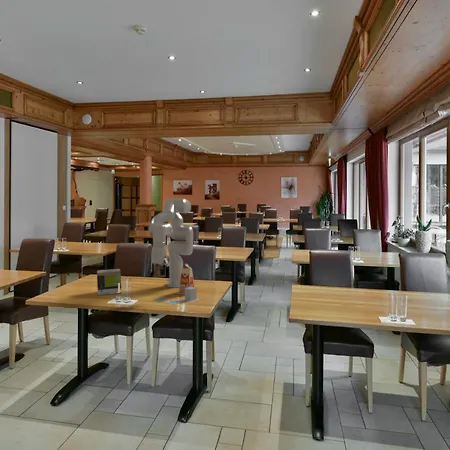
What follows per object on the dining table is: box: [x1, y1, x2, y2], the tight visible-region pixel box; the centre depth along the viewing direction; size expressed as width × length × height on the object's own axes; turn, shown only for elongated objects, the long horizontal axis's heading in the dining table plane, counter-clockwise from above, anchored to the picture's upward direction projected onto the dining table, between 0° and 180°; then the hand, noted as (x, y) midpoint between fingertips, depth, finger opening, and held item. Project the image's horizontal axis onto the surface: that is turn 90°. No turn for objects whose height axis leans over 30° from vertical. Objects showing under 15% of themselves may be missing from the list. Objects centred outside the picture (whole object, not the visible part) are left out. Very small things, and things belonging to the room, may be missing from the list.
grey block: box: [184, 286, 197, 301], centre depth 244 cm, size 5×5×7 cm
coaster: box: [152, 297, 168, 303], centre depth 243 cm, size 7×7×1 cm
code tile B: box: [180, 297, 201, 303], centre depth 245 cm, size 9×9×1 cm
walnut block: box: [153, 264, 167, 279], centre depth 242 cm, size 5×5×7 cm
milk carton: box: [177, 263, 196, 295], centre depth 261 cm, size 9×9×20 cm
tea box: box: [96, 268, 122, 296], centre depth 263 cm, size 15×10×15 cm, turn 108°
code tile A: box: [164, 298, 185, 306], centre depth 240 cm, size 9×9×1 cm
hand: (159, 274), depth 242 cm, fingers closed on walnut block, 5 cm apart
